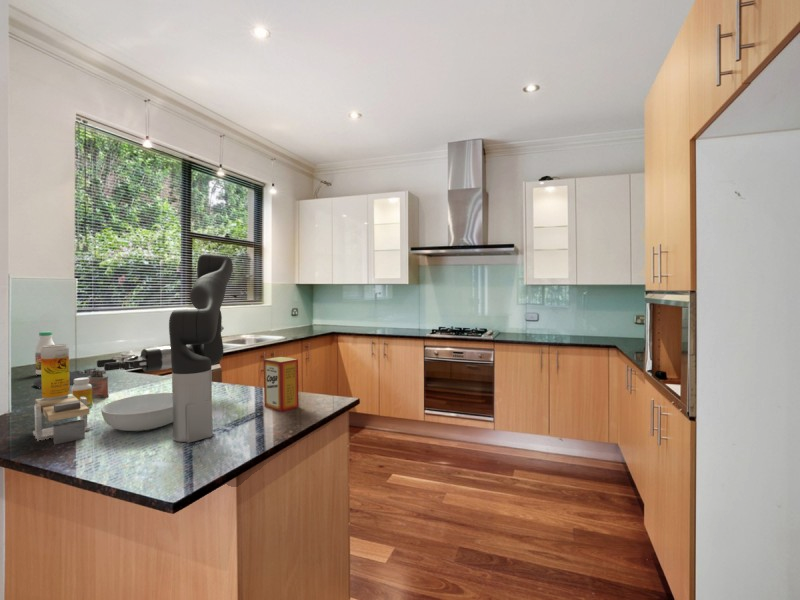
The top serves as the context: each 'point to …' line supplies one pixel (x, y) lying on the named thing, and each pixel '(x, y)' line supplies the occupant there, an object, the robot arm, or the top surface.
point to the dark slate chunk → (71, 375)
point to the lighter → (99, 384)
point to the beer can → (55, 371)
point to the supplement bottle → (82, 390)
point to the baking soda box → (281, 383)
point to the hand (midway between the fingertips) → (100, 365)
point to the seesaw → (62, 408)
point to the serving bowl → (139, 412)
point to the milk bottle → (44, 340)
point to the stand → (61, 428)
